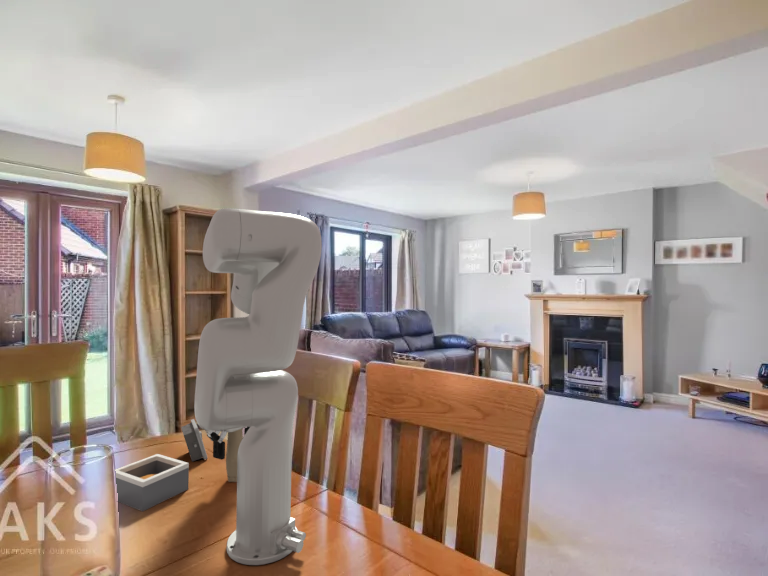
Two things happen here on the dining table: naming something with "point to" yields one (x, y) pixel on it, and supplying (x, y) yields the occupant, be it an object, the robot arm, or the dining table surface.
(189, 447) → the electrical switch
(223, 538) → the dining table surface
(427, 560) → the dining table surface
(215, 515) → the dining table surface
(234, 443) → the handle
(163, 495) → the box
